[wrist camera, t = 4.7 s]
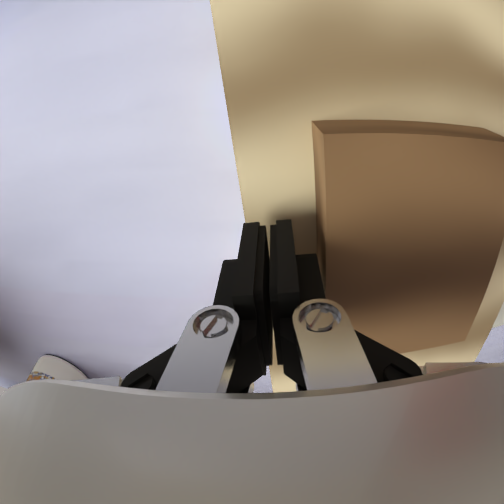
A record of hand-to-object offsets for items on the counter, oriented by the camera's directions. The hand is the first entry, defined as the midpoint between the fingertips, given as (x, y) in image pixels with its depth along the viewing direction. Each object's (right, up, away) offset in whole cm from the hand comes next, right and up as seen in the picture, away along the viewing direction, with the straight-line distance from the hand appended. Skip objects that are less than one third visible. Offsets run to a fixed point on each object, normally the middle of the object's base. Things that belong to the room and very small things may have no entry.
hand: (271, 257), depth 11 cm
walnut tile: (+5, +1, 0) cm, 5 cm away
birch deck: (+6, +3, +3) cm, 8 cm away
